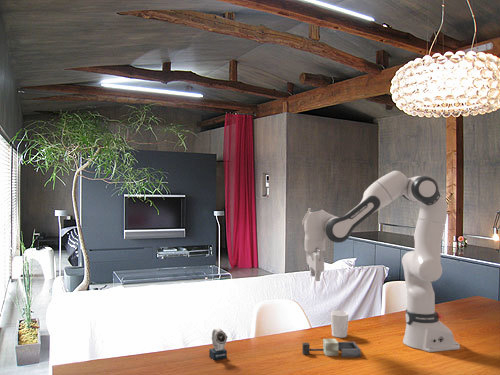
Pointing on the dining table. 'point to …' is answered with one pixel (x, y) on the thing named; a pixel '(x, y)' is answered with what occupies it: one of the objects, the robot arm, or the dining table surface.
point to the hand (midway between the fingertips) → (315, 278)
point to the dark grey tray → (349, 349)
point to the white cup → (339, 323)
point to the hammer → (328, 347)
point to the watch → (218, 345)
